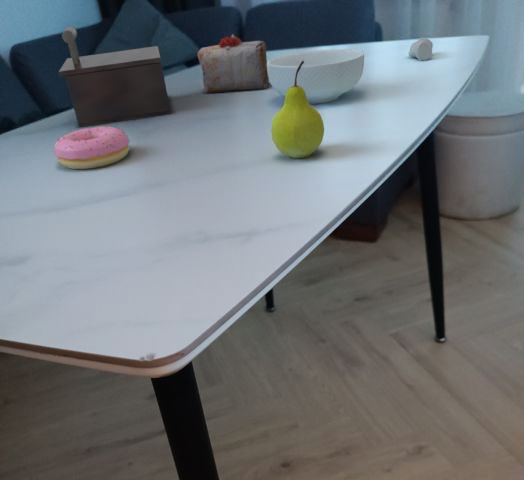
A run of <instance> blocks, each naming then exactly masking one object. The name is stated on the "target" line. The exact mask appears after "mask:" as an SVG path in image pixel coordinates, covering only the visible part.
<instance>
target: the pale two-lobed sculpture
mask: <svg viewBox="0 0 524 480" xmlns="http://www.w3.org/2000/svg"><path fill="white" fill-rule="evenodd" d="M433 47H434V46H433V42H432V41H431V40H430V39H429V38H425V37H424V38H423V37H422V36H421V37H420V38H419V39H418V40H416V41H415V42H413V43H412V44H411V45H410V47H409V51H408V56H409V57H412V58H415V59H418V60H419V61H422V62H423V61H429V60H430V59H431V57H432V55H433Z"/></svg>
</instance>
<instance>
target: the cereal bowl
mask: <svg viewBox="0 0 524 480" xmlns="http://www.w3.org/2000/svg"><path fill="white" fill-rule="evenodd" d="M302 61H304V63H303V65H302V66H301V69H300V70H299V72H298V74H297V80H296V81H297V86H301V87H302V88H303V89H304V91H305V94H306V98H307V100H308V103H309V104H310V105H315V104H324V103H328V102H333V101H335V100H337V99H339V98H340V96H341V95H343V94H346V93H347V92H349V91H350V90H352V89H354V87H356V85H357V84H358V83H359V81H360V80H361V78H362V76H363V72H364V67H365V54H364V52H363V51H361V50H359V49H350V48H331V49H329V48H328V49H318V50H308V51H301V52H295V53H290V54H285V55H282V56H278V57H275V58H272V59H270V60H267V73H268V78H269V85H270V86H271V87H272V88H273V90H274V91H275V92H276V93H278V94H279V95H281V96H283V97H285V96H286V93H287V91H288V89H289V88H290V87H292V86H294V83H295V76H296V72H297V69H298V67H299V65H300V64H301V62H302Z"/></svg>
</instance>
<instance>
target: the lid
mask: <svg viewBox="0 0 524 480" xmlns="http://www.w3.org/2000/svg"><path fill="white" fill-rule="evenodd" d="M77 36H78V32H77V30H76V28H74V27H72V26H68V27H67V28H66V29H65V30H64V31H63V32H62V35H61V38H62V40H63V41H64V43H66V44H67V45H68V49H69V53H70V56H71V57H67V58H66V59H65V61H64V63H63V64H62V66H61V68H60V69H59V71H58V75H59V77H61V78H62V77H65V76H68V75H75V74H82V73H89V72H96V71H103V70H110V69H117V68H125V67H132V66H139V65H146V64H153V63H160V62H161V63H162V57H161V54H160V50H159V46H158V45H155V46H148V47H147V46H146V47H140V48H134V49H126V50H118V51H112V52H111V51H110V52H104V53H96V54H89V55H83V56H80V55H79V51H78V46H77V43H76V38H77Z"/></svg>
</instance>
